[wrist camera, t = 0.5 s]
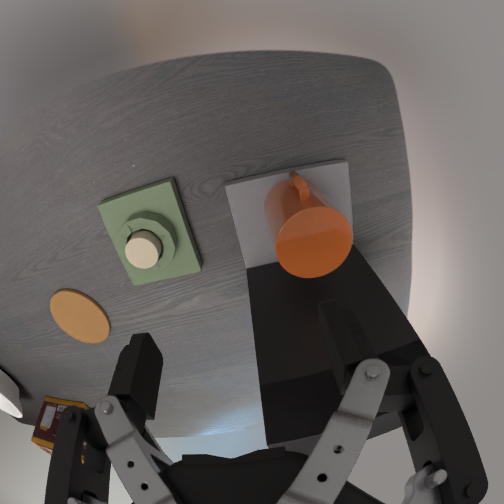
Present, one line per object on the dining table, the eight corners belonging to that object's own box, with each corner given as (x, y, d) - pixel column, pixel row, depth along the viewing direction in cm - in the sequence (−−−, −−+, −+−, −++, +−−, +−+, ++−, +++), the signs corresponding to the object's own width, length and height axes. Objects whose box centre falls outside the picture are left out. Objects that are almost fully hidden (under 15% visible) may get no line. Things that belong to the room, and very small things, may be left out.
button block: (102, 200, 28) (89, 212, 25) (173, 176, 27) (166, 186, 24) (137, 278, 33) (130, 295, 30) (202, 263, 33) (200, 280, 30)
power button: (124, 234, 27) (119, 242, 25) (154, 226, 27) (150, 233, 25) (137, 263, 29) (133, 272, 27) (166, 256, 28) (163, 265, 27)
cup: (254, 171, 26) (264, 197, 19) (318, 159, 26) (349, 180, 19) (269, 241, 30) (282, 285, 23) (326, 229, 30) (353, 268, 23)
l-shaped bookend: (224, 182, 28) (218, 359, 9) (342, 158, 28) (501, 271, 9) (254, 293, 36) (277, 462, 17) (349, 270, 35) (428, 414, 16)
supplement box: (105, 421, 55) (95, 469, 42) (65, 414, 55) (53, 457, 42) (85, 402, 50) (71, 455, 37) (45, 395, 50) (30, 441, 37)
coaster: (40, 294, 33) (38, 296, 33) (87, 283, 33) (85, 285, 32) (74, 342, 39) (73, 345, 38) (122, 337, 39) (121, 340, 38)
